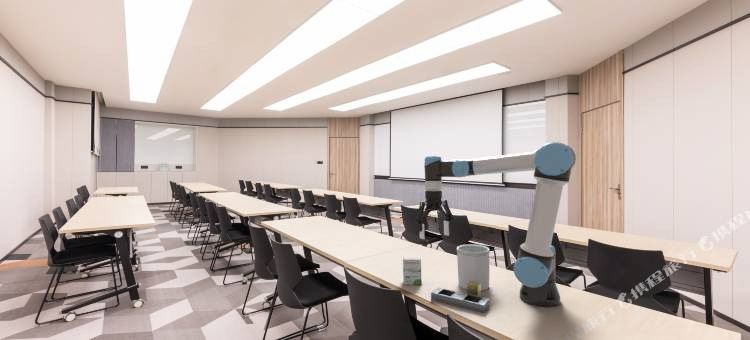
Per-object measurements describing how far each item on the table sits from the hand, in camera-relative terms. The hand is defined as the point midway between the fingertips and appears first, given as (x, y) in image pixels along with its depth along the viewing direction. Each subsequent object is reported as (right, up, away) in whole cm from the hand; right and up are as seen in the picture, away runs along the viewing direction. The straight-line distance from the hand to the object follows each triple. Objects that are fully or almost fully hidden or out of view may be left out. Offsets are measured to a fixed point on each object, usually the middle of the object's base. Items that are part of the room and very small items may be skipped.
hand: (434, 236), depth 149 cm
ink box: (-9, -24, +8) cm, 27 cm away
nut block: (+15, -24, -10) cm, 30 cm away
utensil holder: (+19, -24, +4) cm, 30 cm away
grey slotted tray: (+7, -24, -16) cm, 29 cm away
